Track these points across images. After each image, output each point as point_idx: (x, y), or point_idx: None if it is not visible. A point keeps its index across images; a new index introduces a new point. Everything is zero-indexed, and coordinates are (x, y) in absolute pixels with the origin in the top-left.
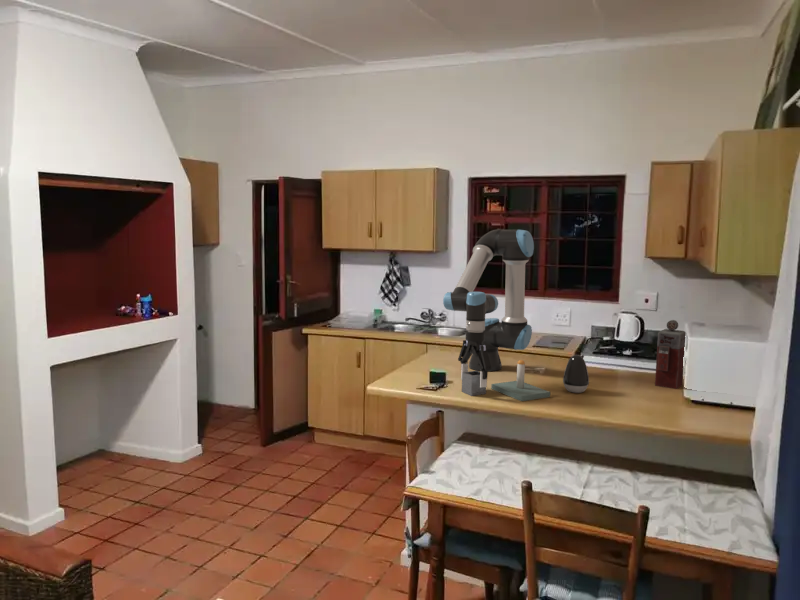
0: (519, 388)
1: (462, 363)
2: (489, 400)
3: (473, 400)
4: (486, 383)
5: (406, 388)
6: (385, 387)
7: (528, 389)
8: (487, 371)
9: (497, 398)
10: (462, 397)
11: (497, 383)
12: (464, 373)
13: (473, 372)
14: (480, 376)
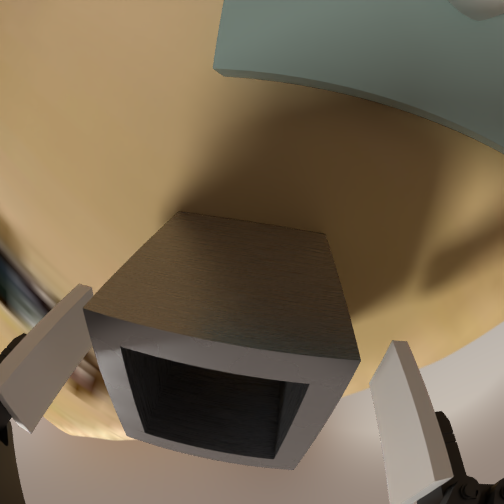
0: (484, 19)
1: (5, 412)
2: (433, 318)
3: (365, 379)
4: (414, 366)
5: (75, 409)
6: (62, 422)
7: None
8: (465, 477)
9: (450, 250)
10: None
11: (231, 6)
12: (166, 447)
13: (131, 366)
14: (388, 460)
